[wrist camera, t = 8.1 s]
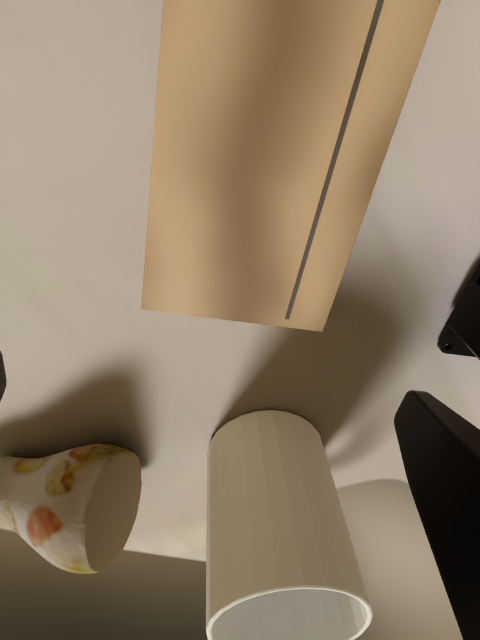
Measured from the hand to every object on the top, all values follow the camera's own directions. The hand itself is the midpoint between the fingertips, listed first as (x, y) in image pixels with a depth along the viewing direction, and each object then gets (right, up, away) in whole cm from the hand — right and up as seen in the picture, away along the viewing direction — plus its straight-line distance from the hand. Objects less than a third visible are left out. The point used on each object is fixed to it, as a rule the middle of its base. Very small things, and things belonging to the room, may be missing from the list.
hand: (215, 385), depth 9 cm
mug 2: (+3, -9, +20) cm, 22 cm away
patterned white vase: (-11, -8, +19) cm, 23 cm away
